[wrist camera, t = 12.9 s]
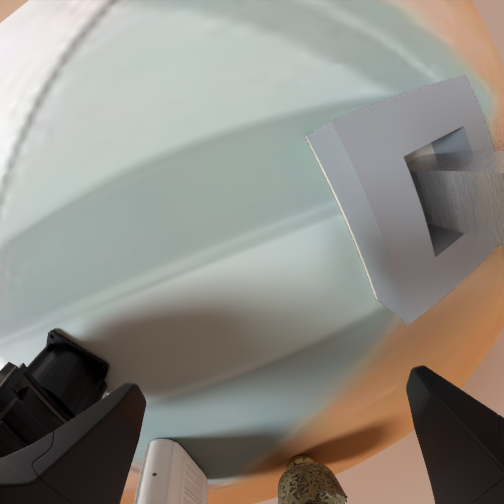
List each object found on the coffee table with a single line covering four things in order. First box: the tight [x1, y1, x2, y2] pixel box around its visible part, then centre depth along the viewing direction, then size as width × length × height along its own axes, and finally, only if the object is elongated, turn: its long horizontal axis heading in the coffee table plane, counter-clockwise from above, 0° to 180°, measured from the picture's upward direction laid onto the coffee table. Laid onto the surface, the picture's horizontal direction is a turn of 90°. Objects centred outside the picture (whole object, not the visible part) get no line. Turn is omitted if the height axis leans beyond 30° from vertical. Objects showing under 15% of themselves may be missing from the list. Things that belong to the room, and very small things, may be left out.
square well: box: [305, 75, 500, 325], centre depth 17 cm, size 14×14×5 cm
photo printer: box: [134, 439, 208, 504], centre depth 18 cm, size 10×4×12 cm, turn 15°
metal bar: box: [406, 151, 504, 245], centre depth 13 cm, size 4×4×13 cm
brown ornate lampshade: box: [278, 455, 347, 504], centre depth 22 cm, size 8×7×8 cm
